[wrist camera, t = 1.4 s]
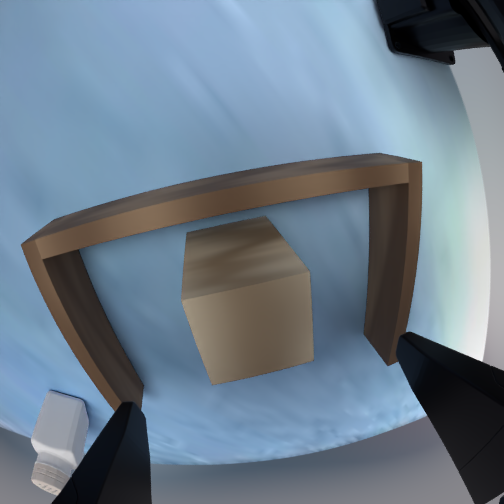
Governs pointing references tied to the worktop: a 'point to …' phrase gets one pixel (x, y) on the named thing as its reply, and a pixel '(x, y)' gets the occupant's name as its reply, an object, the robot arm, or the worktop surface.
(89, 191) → the worktop surface
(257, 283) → the maple block
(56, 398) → the salt shaker
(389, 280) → the wooden u-shaped frame
